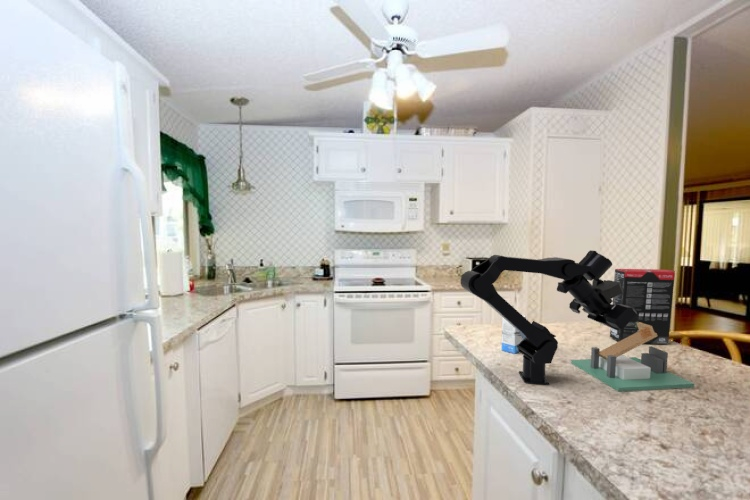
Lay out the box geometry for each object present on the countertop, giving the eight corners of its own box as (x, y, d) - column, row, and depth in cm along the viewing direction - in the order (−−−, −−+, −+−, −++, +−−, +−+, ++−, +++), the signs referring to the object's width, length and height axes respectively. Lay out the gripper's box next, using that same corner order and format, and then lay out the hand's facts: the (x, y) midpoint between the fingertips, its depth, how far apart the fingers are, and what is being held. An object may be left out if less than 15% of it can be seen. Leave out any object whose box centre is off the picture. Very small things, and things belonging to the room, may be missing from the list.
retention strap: (609, 361, 93) (605, 350, 93) (598, 355, 97) (594, 345, 97) (657, 336, 94) (653, 325, 94) (644, 331, 98) (640, 321, 98)
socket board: (618, 391, 86) (619, 365, 86) (571, 363, 104) (572, 341, 104) (694, 387, 89) (696, 361, 88) (635, 360, 106) (636, 338, 106)
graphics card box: (657, 339, 126) (661, 268, 124) (671, 345, 119) (676, 270, 117) (609, 337, 128) (612, 267, 125) (620, 344, 121) (624, 270, 119)
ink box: (515, 354, 112) (516, 311, 110) (500, 350, 115) (502, 308, 114) (525, 347, 117) (526, 307, 116) (511, 344, 121) (512, 304, 120)
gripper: (632, 276, 84) (668, 317, 86) (579, 267, 103) (611, 301, 104) (601, 308, 84) (639, 348, 86) (554, 293, 102) (586, 326, 104)
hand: (617, 329), depth 95 cm, fingers closed
